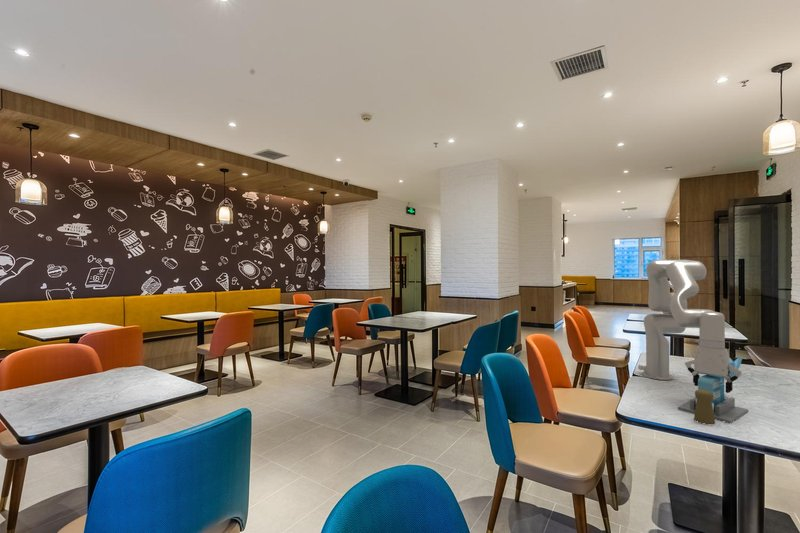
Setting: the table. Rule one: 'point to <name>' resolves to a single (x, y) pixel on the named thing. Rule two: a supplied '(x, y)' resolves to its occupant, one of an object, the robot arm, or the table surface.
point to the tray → (719, 409)
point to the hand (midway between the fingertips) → (712, 388)
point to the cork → (704, 407)
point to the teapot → (734, 365)
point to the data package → (713, 387)
